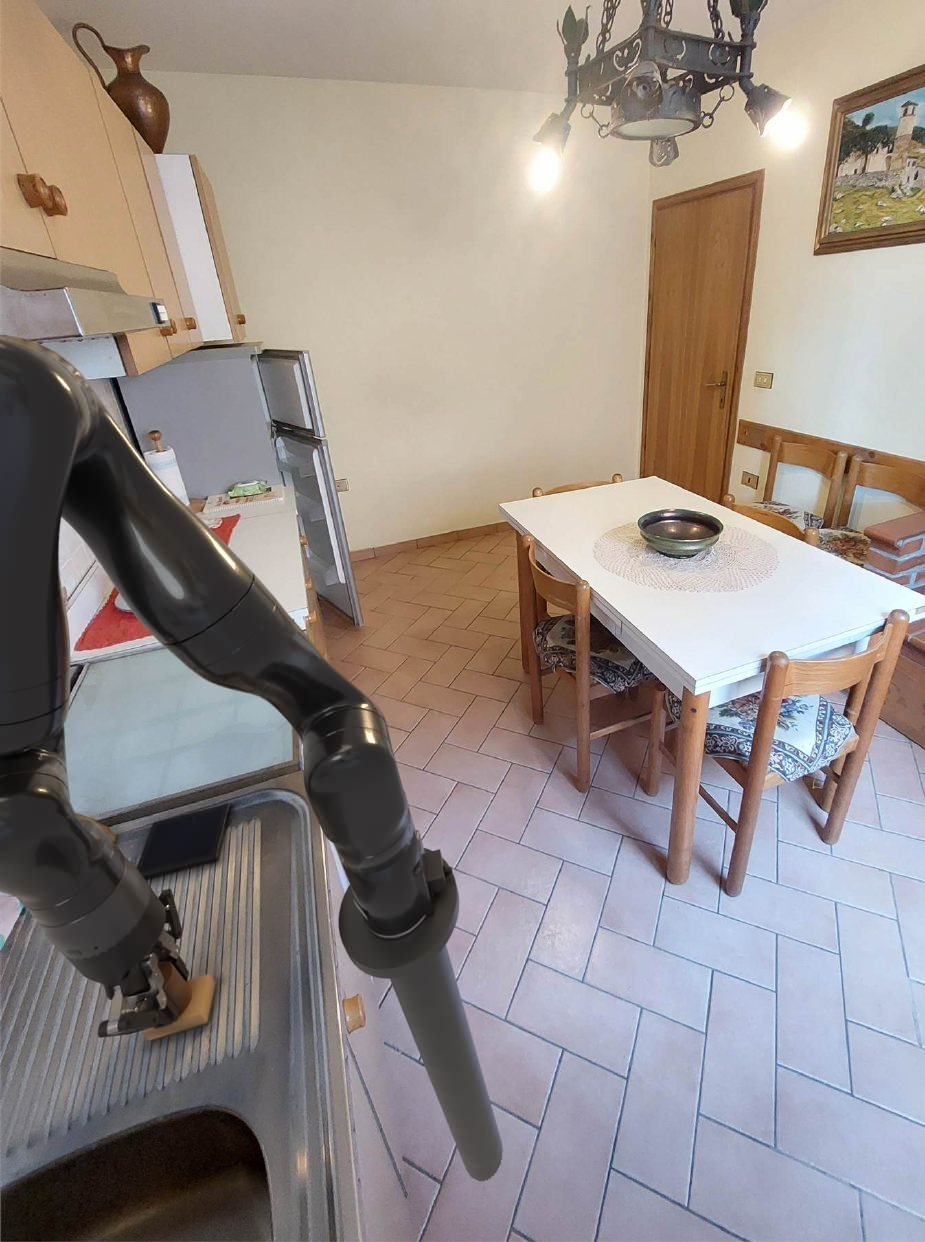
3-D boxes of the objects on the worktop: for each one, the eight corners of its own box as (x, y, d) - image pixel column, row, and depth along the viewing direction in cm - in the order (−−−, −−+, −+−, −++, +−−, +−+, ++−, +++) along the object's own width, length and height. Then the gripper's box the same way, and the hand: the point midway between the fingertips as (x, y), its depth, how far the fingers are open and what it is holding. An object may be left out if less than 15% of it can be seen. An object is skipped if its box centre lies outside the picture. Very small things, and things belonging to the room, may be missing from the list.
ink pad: (231, 807, 86) (229, 803, 85) (218, 861, 78) (215, 857, 77) (156, 826, 84) (153, 822, 83) (134, 883, 76) (131, 879, 76)
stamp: (217, 984, 64) (191, 949, 60) (208, 1025, 61) (181, 990, 57) (160, 1001, 63) (130, 966, 59) (148, 1043, 60) (115, 1009, 56)
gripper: (118, 984, 47) (193, 1068, 55) (169, 836, 59) (224, 923, 67) (20, 1012, 46) (112, 1094, 54) (93, 855, 58) (158, 942, 66)
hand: (174, 999), depth 61 cm, fingers closed on stamp, 3 cm apart
